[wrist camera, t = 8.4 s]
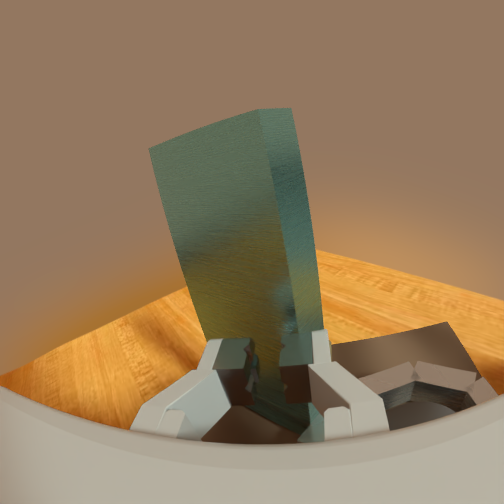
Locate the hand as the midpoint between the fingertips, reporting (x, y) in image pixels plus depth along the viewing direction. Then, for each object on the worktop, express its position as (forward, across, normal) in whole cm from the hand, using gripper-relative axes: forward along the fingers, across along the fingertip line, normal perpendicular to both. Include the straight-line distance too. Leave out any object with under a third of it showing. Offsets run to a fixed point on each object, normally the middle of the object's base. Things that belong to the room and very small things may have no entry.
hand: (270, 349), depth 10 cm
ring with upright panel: (-1, -4, +7) cm, 8 cm away
